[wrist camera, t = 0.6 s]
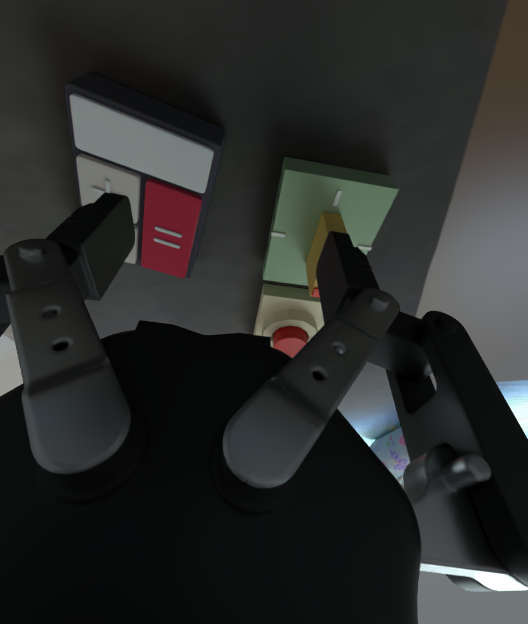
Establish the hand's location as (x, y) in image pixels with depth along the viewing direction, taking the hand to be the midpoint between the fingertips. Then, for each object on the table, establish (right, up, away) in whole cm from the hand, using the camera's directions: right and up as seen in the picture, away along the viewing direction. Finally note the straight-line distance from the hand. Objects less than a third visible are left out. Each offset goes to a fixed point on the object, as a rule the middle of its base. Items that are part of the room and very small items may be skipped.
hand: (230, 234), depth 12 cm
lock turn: (+7, +4, +16) cm, 18 cm away
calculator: (-9, +9, +16) cm, 21 cm away
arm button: (+5, -6, +27) cm, 28 cm away
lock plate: (+7, +6, +19) cm, 21 cm away
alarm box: (+5, -4, +29) cm, 30 cm away
